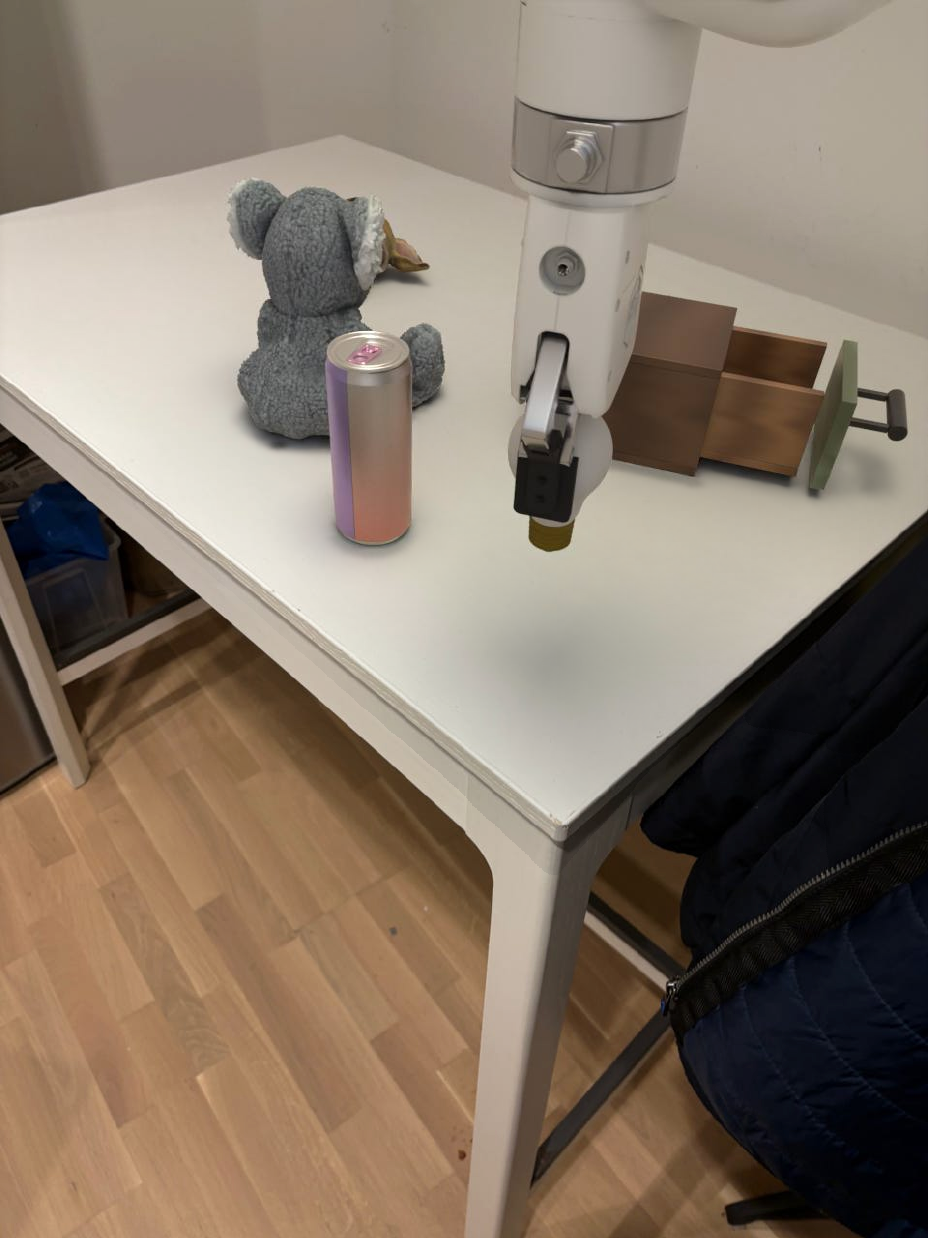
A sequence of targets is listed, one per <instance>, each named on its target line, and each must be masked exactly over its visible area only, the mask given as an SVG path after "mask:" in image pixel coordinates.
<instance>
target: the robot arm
mask: <svg viewBox="0 0 928 1238" xmlns="http://www.w3.org/2000/svg"><path fill="white" fill-rule="evenodd" d="M895 1H897V0H519V17H518V34H517V53H516V69H515V70H516V71H515V72H516V73H515V91H514V92H515V93H514V97H513V98H514V100H513V117H512V130H511V131H512V133H511V136H512V137H511V149H510V164H509V165H510V166H509V178H510V182H511V183H512V184H513V185H514V186H515V187H517V188H518V189H519V190H521V191H523V192H525V193H527V194H528V198H527V205H526V212H525V220H524V227H523V228H524V229H523V236H522V239H521V244H520V245H521V251H520V262H519V269H518V270H519V271H518V279H517V289H516V299H515V311H514V319H513V320H514V322H513V333H512V347H511V361H510V362H511V365H510V366H511V367H510V368H511V369H510V391H511V396H512V397H513V399H514V400H515V401H516V402H517V403H518V404H519V405H524V404H525V405H524V412H523V413H524V418H523V424H522V428H521V437H520V443H519V449H518V456H517V468H516V479H515V483H514V496H513V505H512V506H513V507H512V508H513V510H514V512H516V513H517V514H519V515H523V516H527V517H529V516H532V517H537V518H542V519H547V520H551V521H556V522H561V523H566V522H568V521H569V519H570V516H571V514H572V507H573V500H574V492H575V485H576V477H577V470H578V463H579V457H575V456H574V450H575V445H576V440H577V434H578V429H579V424H580V418H581V414H587V415H591V418H598V417H600V416H601V417H602V415H603V414H604V413H606V412H607V411H608V409H609V407H610V406H611V403H612V401H613V399H614V397H615V394H616V392H617V390H618V387H619V385H620V382H621V380H622V378H623V375H624V373H625V370H626V368H627V365H628V363H629V360H630V357H631V355H632V352H633V348H634V344H635V339H636V333H637V325H638V316H639V308H640V300H641V293H642V291H643V285H644V278H645V270H646V263H647V256H648V250H649V249H648V248H649V242H650V241H649V240H650V233H651V224H652V215H653V206H654V205H653V203H655V202H658V201H660V200H662V199H664V198H665V199H666V198H667V197H668V196H669V195H672V193H673V192H674V189H675V185H676V180H677V173H678V169H679V164H680V159H681V158H680V157H681V151H682V146H683V140H684V134H685V128H686V123H687V119H688V118H687V117H688V114H689V113H688V112H689V105H690V100H691V95H692V89H693V83H694V77H695V72H696V67H697V61H698V56H699V49H700V44H701V39H702V33H703V29H704V30H706V31H709V32H712V33H715V34H718V35H720V36H723V37H725V38H729V39H733V40H735V41H739V42H742V43H744V44H745V43H746V44H750V45H754V46H759V47H766V48H774V49H776V48H777V49H789V48H792V49H793V48H799V47H805V46H809V45H813V44H816V43H818V42H821V41H824V40H826V39H829V38H832V37H834V36H836V35H837V34H840V33H842V32H844V31H845V30H846V29H848V28H850V27H852V26H854V25H855V24H857V23H859V22H861V21H863V20H864V19H866V18H867V17H869V16H870V15H871V14H873V13H874V12H876V11H878V10H880V9H882V8H884V7H885V6H888V5H889V4H892V3H894V2H895ZM561 389H563V390H561ZM559 397H569V398H573V399H574V400H573V401H568V400H562V399H559ZM555 413H556V414H562V415H567V422H566V427H565V433H564V438H563V437H562V434H561V431H560V430H556V429H554V427H555V425H554V417H555Z"/></svg>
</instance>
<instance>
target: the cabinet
mask: <svg viewBox="0 0 928 1238" xmlns="http://www.w3.org/2000/svg"><path fill="white" fill-rule="evenodd" d="M737 313H738V307H734V306H729V305H723V304H717V303H713V302H712V303H711V302H705V301H700V300H694V299H688V298H685V297H684V298H683V297H678V296H671V295H666V294H661V293H656V292H655V293H654V292H648V291H644V290H642V293H641V300H640V308H639V316H638V325H637V333H636V339H635V344H634V348H633V352H632V355H631V357H630V360H629V363H628V365H627V368H626V370H625V373H624V375H623V378H622V380H621V382H620V385H619V387H618V390H617V392H616V394H615V397H614V399H613V401H612V403H611V406H610V407H609V409H608V411H607V412H606V413H604V414H603V415H602V418H603V419H604V421H605V422H606V424H607V426H608V428H609V431H610V434H611V439H612V445H613V452H612V460H617V461H622V462H627V463H631V464H635V465H640V466H645V467H649V468H654V469H659V470H663V471H669V472H673V473H677V474H682V475H688V476H692V477H695V476H696V471H697V468H698V465H699V461H700V458H701V457H700V453H701V450H702V446H703V442H704V438H705V435H706V431H707V427H708V423H709V419H710V416H711V412H712V408H713V404H714V401H715V397H716V393H717V389H718V386H719V382H720V378H721V374H722V370H723V366H724V362H725V358H726V354H727V350H728V345H729V341H730V337H731V333H732V329H733V326H735V325H734V323H735V320H736V316H737ZM561 390H563V389H561Z"/></svg>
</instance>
